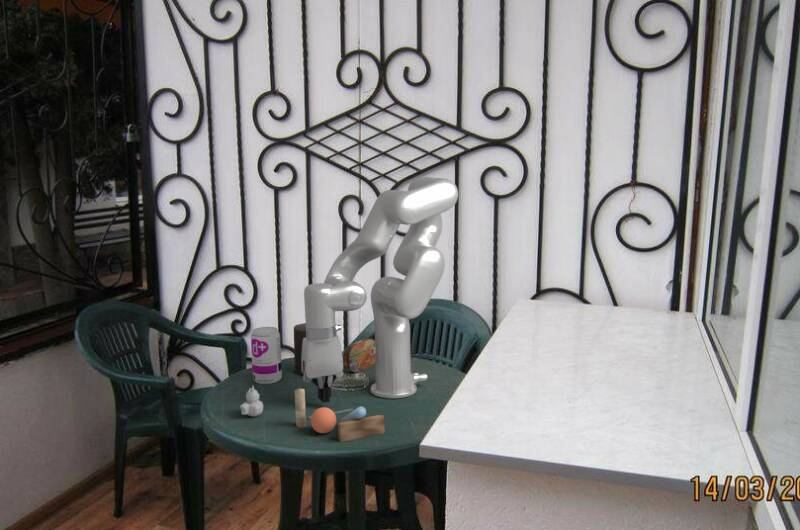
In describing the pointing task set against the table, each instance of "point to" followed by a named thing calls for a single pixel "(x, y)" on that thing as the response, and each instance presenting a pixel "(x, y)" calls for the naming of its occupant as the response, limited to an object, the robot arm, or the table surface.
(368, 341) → the tin
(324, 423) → the ball
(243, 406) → the white figurine
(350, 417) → the pin
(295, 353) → the pillar candle
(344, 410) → the lane line
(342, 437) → the back rail
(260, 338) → the supplement can
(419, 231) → the robot arm
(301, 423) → the birch pin
